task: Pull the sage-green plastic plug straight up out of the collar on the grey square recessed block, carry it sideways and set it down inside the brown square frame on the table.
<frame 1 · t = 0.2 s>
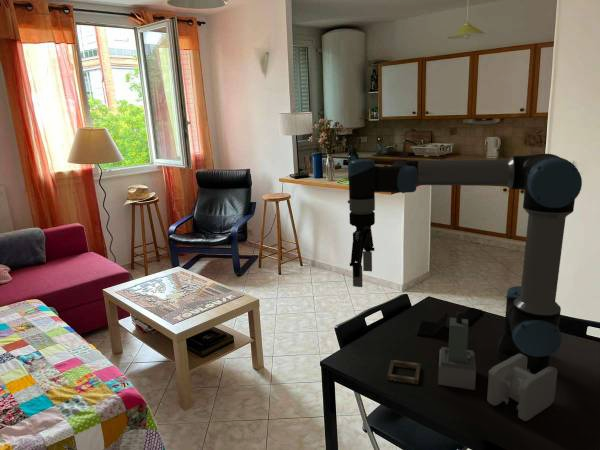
hand: (362, 278, 138), 28 cm above the table, tool pointing down, fingers open, 13 cm apart
cable organizer: (519, 406, 119), on the table
handheld gaming console: (432, 331, 161), on the table
remote control: (469, 319, 170), on the table
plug: (457, 359, 131), point 6 cm above the table, touching grey square recessed block
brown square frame: (404, 373, 136), on the table
grey square recessed block: (456, 377, 133), on the table
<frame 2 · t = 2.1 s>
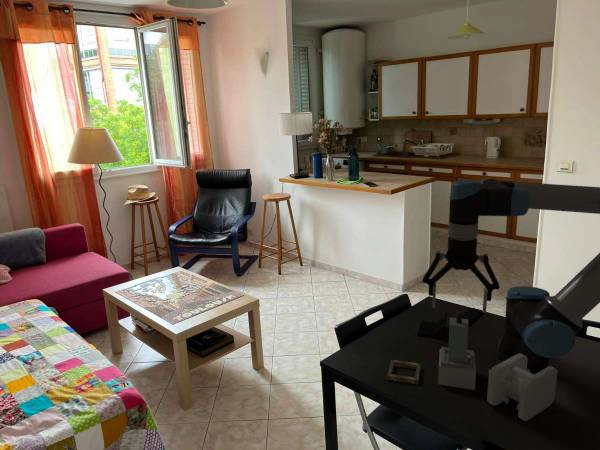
hand: (458, 308, 127), 22 cm above the table, tool pointing down, fingers open, 13 cm apart
nothing on the table moved.
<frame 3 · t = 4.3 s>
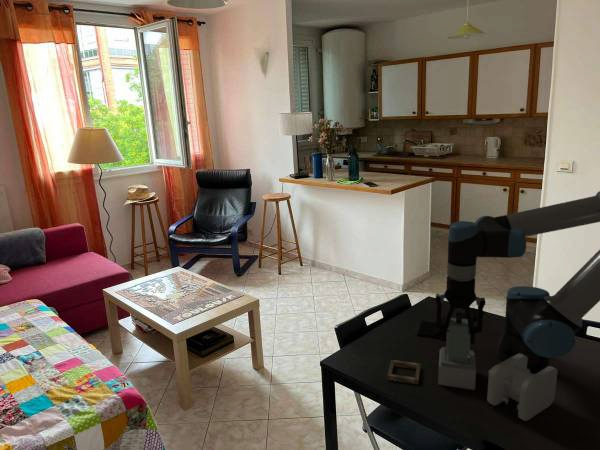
hand: (457, 351, 131), 9 cm above the table, tool pointing down, fingers closed on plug, 5 cm apart
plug: (457, 359, 131), point 6 cm above the table, touching gripper, grey square recessed block
everything else where it was.
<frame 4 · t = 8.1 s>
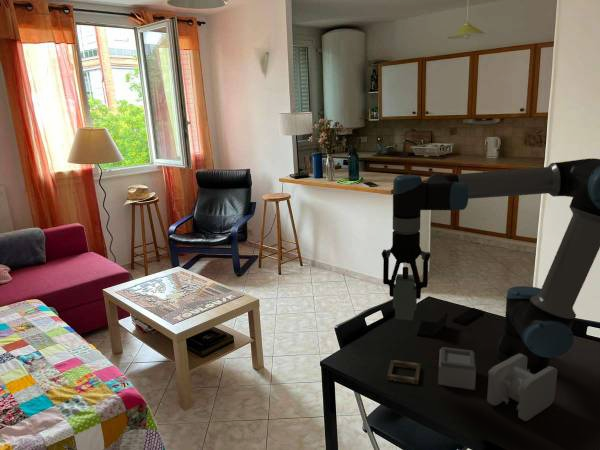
hand: (404, 307, 130), 22 cm above the table, tool pointing down, fingers closed on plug, 5 cm apart
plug: (404, 315, 131), point 19 cm above the table, touching gripper
everything else where it was.
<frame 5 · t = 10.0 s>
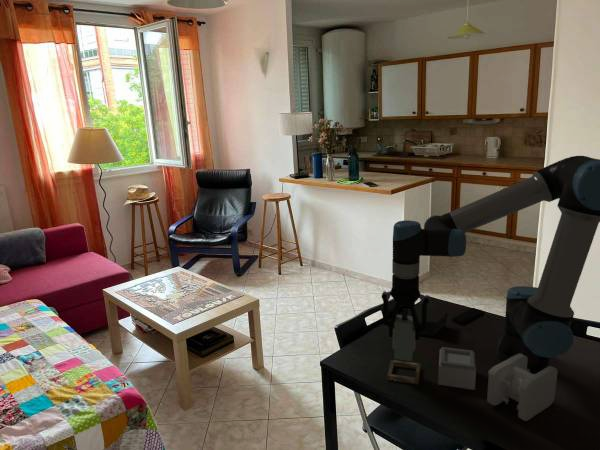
hand: (403, 347, 133), 9 cm above the table, tool pointing down, fingers closed on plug, 5 cm apart
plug: (403, 355, 134), point 6 cm above the table, touching gripper
everything else where it was.
when the fingers open (4 cm above the table, at t = 11.8 s): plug drops 2 cm, resting in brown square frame.
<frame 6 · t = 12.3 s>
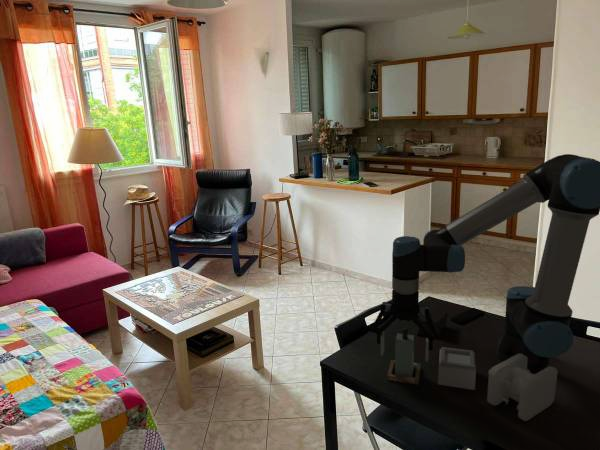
hand: (404, 356, 134), 6 cm above the table, tool pointing down, fingers open, 12 cm apart
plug: (404, 373, 136), resting in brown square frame
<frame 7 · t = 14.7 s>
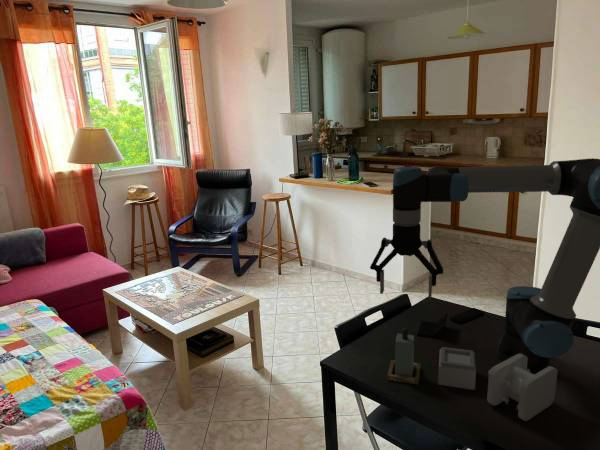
hand: (405, 294, 129), 26 cm above the table, tool pointing down, fingers open, 13 cm apart
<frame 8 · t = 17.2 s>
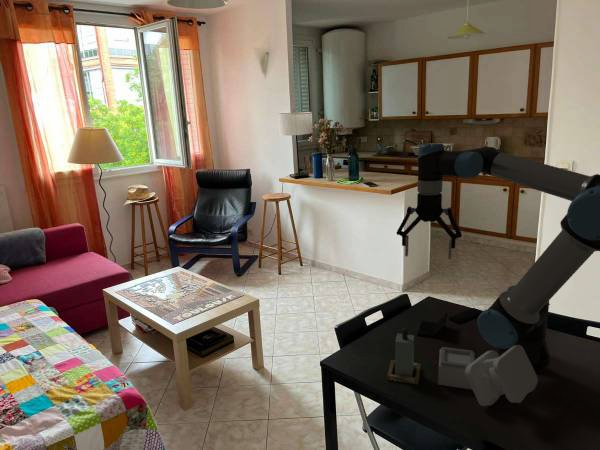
hand: (427, 256, 147), 31 cm above the table, tool pointing down, fingers open, 13 cm apart
cable organizer: (511, 398, 119), point 2 cm above the table, touching arm
at the end: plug 0.1 cm off-centre on the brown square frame, point 0.0 cm above the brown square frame's base; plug tilted 0°; the gripper is holding nothing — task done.
